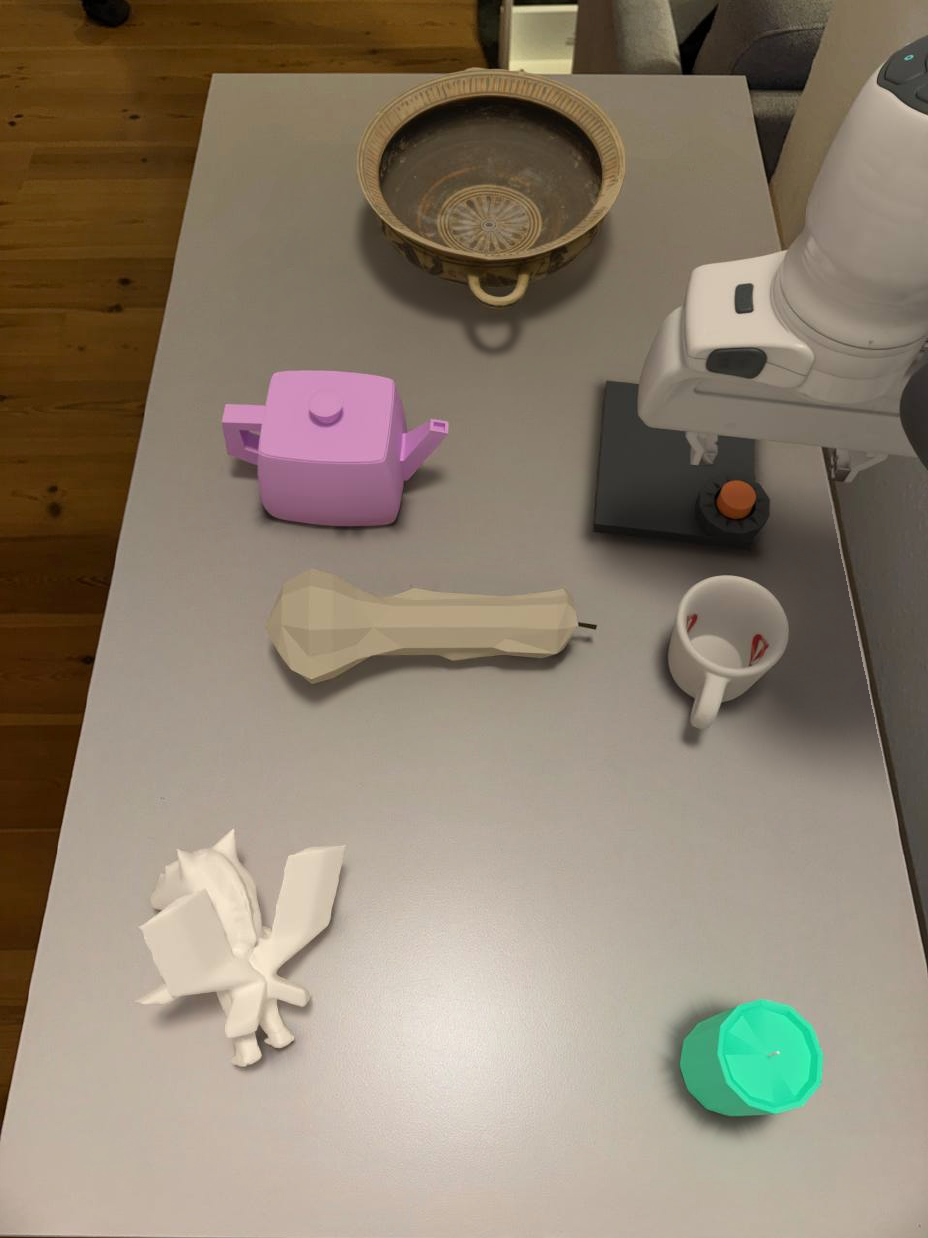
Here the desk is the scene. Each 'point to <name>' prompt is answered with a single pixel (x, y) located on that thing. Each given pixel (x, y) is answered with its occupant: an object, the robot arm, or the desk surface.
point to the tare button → (736, 499)
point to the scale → (668, 481)
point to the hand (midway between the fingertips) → (769, 465)
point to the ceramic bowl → (491, 177)
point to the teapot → (330, 447)
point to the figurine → (237, 936)
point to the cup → (724, 641)
